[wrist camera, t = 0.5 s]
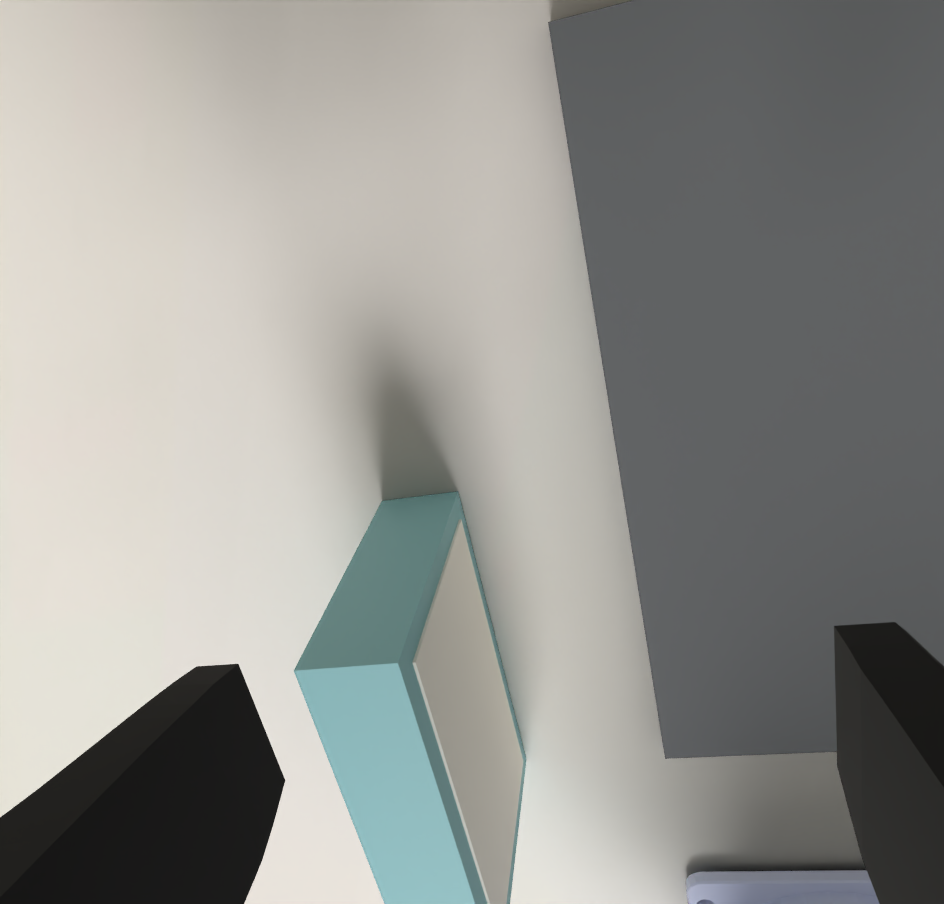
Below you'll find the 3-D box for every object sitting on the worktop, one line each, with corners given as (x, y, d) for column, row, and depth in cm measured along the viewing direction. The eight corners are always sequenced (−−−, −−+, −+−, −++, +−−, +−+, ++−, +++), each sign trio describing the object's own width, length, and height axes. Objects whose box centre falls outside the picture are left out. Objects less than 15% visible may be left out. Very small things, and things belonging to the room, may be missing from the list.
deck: (528, 757, 23) (503, 983, 17) (460, 760, 24) (414, 980, 18) (460, 489, 19) (401, 662, 14) (382, 499, 20) (293, 670, 14)
